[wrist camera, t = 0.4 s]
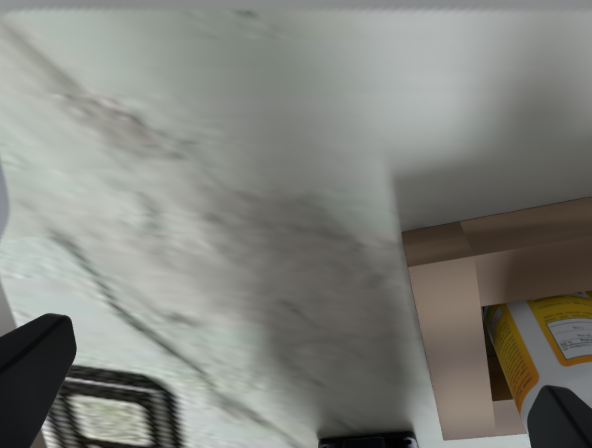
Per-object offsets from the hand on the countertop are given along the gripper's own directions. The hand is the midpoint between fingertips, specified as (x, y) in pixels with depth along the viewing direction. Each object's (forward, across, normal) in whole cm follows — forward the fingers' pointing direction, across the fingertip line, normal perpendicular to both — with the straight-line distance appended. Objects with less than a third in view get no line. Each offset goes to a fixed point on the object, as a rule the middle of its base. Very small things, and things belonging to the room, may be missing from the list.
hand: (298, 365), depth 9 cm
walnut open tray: (+14, -12, +8) cm, 20 cm away
